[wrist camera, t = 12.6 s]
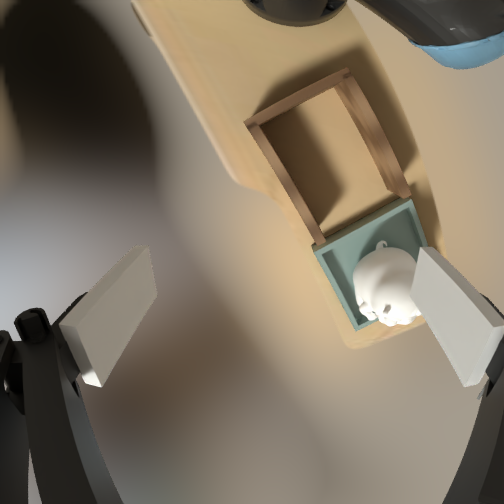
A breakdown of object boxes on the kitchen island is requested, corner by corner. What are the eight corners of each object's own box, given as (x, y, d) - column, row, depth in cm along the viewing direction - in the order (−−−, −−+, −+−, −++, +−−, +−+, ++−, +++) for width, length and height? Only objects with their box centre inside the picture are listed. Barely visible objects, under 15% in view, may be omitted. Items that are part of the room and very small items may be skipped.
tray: (311, 245, 43) (313, 252, 40) (404, 195, 39) (411, 199, 37) (352, 322, 47) (355, 331, 45) (433, 278, 44) (439, 285, 41)
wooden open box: (247, 123, 37) (243, 121, 31) (336, 75, 33) (347, 67, 28) (311, 230, 42) (317, 246, 36) (394, 185, 39) (411, 194, 33)
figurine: (343, 243, 41) (366, 284, 30) (405, 229, 40) (444, 263, 29) (351, 301, 45) (370, 352, 34) (408, 287, 44) (439, 331, 32)
